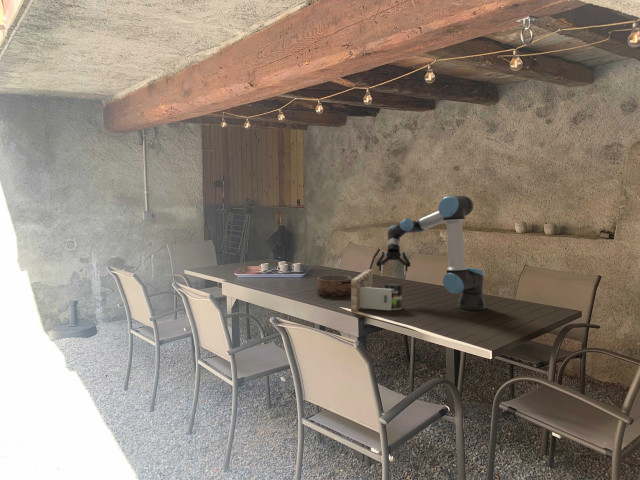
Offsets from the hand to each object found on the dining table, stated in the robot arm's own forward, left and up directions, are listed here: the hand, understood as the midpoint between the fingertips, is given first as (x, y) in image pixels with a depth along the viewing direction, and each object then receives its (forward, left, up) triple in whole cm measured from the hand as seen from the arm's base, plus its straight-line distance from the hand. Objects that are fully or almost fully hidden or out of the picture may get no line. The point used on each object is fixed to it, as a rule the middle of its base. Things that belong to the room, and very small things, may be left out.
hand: (393, 275), depth 275 cm
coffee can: (+10, +2, -18) cm, 20 cm away
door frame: (+8, -17, -17) cm, 26 cm away
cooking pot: (-16, -42, -18) cm, 48 cm away
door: (+18, -8, -17) cm, 26 cm away
